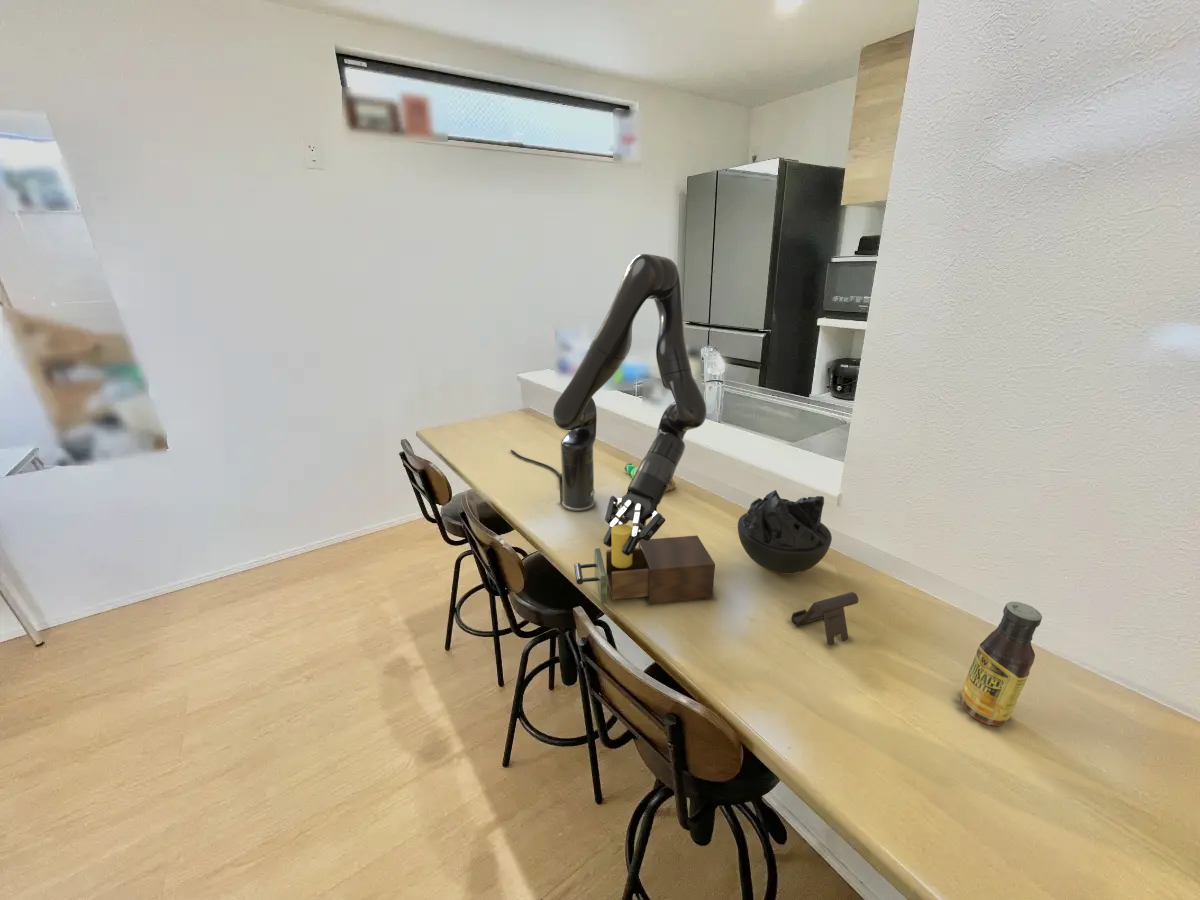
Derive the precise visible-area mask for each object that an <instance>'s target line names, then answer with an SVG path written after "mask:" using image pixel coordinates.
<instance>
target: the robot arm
mask: <svg viewBox="0 0 1200 900" xmlns="http://www.w3.org/2000/svg"><path fill="white" fill-rule="evenodd" d="M680 280H681V278H680V273H679V269H678V266H677V264H676V263H675V262H674V260H672V259H671V258H668V257H665V256H661V255H655V254H650V253H642V254H638V255H637V256H635V257H634V258H633V259H632V260H631V261H630V263H629V264H628V266H627V268H626V270H625V272H624V274H623V277H622V280H621V281H620V284H619V286H618V288H617V291H616V293H615V296H614V299H613V301H612V303H611V305H610V307H609V309H608V311H607V313H606V315H605V316H604V319H603V321H602V323H601V325H600V327H599V329H597V330H598V331H597V332H596V334H595V336H593V339H592V341H591V343H590V344H589V346H588V348H587V350H586V352H585V354H584V357H583V358H582V360H581V362H580V363H579V365H578V367H577V369H576V370H575V373H574V375H573V377H572V378H571V380H570V381H569V383H568V385H567V386H566V387H565V388H564V390H563V392H562V393H561V394H560V395H559V397H558V399H557V400H556V401H555V403H554V406H553V411H552V417H553V422H554V424H555V426H556V427H558V428H559V429H561V430H562V431H567V432H566V434H565V436H564V437H563V438H561V440H560V465H561V473H560V472H558V471H557V470H556V469H555V468H554V467H552V466H550V465H549V464H548V465H547V464H546V463H543V462H540V461H536V460H534V459H531V458H528V457H525V456H522V455H520V454H518V453H517V452H516V451H514V450H513V449H510V452H511V453H512V454H513V455H515V456H516V457H518V458H520V459H522V460H525V461H528V462H531V463H534V464H537V465H540V466H543V467H545V468H548V469H550V470H551V471H553V472H554V473H555V474H556V475H557V477H558V482H559V503H560V505H561V506H562V507H563V508H564V509H566V510H569V511H572V512H583V511H588V510H591V508H593V507H594V506H595V493H596V491H595V476H594V475H595V474H594V473H595V472H594V444H595V442H596V439H597V420H598V414H597V413H598V412H597V411H598V410H597V406H596V402H595V400H594V398H593V396H594V395H595V394H596V393H597V392H598V391H599V390H601V388H603V386H605V384H606V383H608V382H609V381H610V380H611V379H612V378H613V377H614V376H615V375H616V373H617V372H618V371H619V369H620V368H621V367H622V365H623V363H624V361H626V358H627V357H628V355H629V353H630V350H631V348H632V344H633V343H632V342H633V341H632V340H633V324H634V320H635V318H636V316H637V315H638V313H639V311H640V309H641V308H642V306H643V305H644V304H645V302H646V301H647V300H653V301H654V303H655V306H656V309H657V313H658V321H659V324H658V333H657V337H656V346H655V359H656V364H657V368H658V373H659V377H660V383H661V385H662V387H663V388H664V389H665V390H666V391H670V392H671V394H672V397H673V399H674V401H673V402H671V403H670V404H668V406H667V407H666V408H665V409H664V411H663V413H662V415H661V418H660V421H659V424H658V428H657V432H656V435H655V438H654V439H653V441H652V442H651V445H650V447H649V449H648V450H647V452H646V455H645V456H644V457H643V458H642V460H641V461H640V464H639V465H638V466H637V467H638V469H637V471H636V473H635V475H634V477H633V478H632V479H631V481H630V483H629V484H628V487H627V491H626V493H625V494H624V495H623V496H622V497H616V496H614V495H611V496H610V497H609V500H608V505H607V509H606V513H605V516H604V521H605V522H606V523H607V524H608V526H609V527H608V530H607V532H606V533H605V535H604V537H603V544H604V545H605V546H606V547H608V548H612V544H611V529H612V527H613V526H615V525H619V524H625V525H627V524H628V523H629V522H630V521H632V529H633V530H632V536H629V538H628V540H627V542H626V544H625V546H624V548H623V550H622V553H624V554H625V555H627V556H629V555H630V554H632V553H633V552H634V550H635V548H637V547H638V542H639V541H640V540H646V541H648V540H650V539H652V537H653V536H654V535H655V534H656V533H657V532H658V531H659V529H660V528H661V527H662V526H663V524H664V523H666V518H665V517H664V515H662V514H661V513H660V512H658V506H659V505H660V503H661V502H662V500H663V497H664V495H665V494H666V492H667V491H666V490H667V488H668V486H669V484H670V482H671V480H672V478H673V477H674V475H675V472H676V470H677V467H678V465H679V463H680V461H681V459H682V457H683V455H684V452H685V449H686V443H685V441H684V438H685V435H686V433H687V431H690V430H693V429H697V428H700V427H701V426H702V425H703V424H704V423H705V422H706V419H707V405H706V401H705V398H704V396H703V394H702V391H701V390H700V388H699V385H698V384H697V382H696V380H695V379H694V377H693V372H692V367H691V363H690V358H689V354H688V349H687V344H686V338H685V331H684V319H683V307H682V306H683V305H682V293H681V291H682V290H681V281H680ZM673 479H674V478H673ZM649 519H650V520H649ZM647 520H649V522H648V523H647Z"/></svg>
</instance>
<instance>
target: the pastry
mask: <svg viewBox="0 0 1200 900" xmlns="http://www.w3.org/2000/svg"><path fill="white" fill-rule="evenodd" d="M675 487H676V483H675V480H674V478H672V480H671V482H670V484H669V486H668V488H667V490H666V492H668V491H671V490H673V489H675Z"/></svg>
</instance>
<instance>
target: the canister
mask: <svg viewBox="0 0 1200 900" xmlns="http://www.w3.org/2000/svg"><path fill="white" fill-rule="evenodd" d="M632 530H633V526H631V525H629V524H619V525H615V526H613V527H612V529H611V544H612V546H611V550H612V565H613V566H615V567H617V568H627V567H630V566H631V565H632V554H630V555H629V556H627V555H625V554H624V553H622V550H623V548H624V546H625V544H626V542H627V540H628V538H629V536H632Z"/></svg>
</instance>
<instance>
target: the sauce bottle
mask: <svg viewBox="0 0 1200 900" xmlns="http://www.w3.org/2000/svg"><path fill="white" fill-rule="evenodd" d="M1002 612H1003V615H1002V618H1001V620H1000V623H999V624H998V626H997V627H996V628H995V629H994V630H993V631H992V632H991V633H989V634H988V636H986V637H985V639H983V640H982V642H980V643H979V646H978V648H977V650H976V653H975V656H974V658H973V661H972V663H971V665H970V668H969V671H968V673H967V676H966V679H965V682H964V683H963V686H962V689H961V695H960V704H961V707H962V709H963V710H964V711H965V712H966V713H968V714H969V716H971V717H972V718H974V719H975V720H977V721H978V722H980V723H982V724H984V725H990V726H993V727H995V726H996V727H999V726H1002V725H1004V724H1005V723H1006V722H1007V721H1008V720H1009V719H1010V718H1011V715H1012V713H1013V711H1014V709H1015V707H1016V704H1017V702H1018V700H1019V698H1020V696H1021V693H1022V691H1023V689H1024V686H1025V684H1026V682H1027V680H1028V677H1029V676H1030V671H1031V668H1032V666H1033V664H1034V662H1035V659H1036V654H1035V651H1034V649H1033V645H1032V640H1033V638H1034V637H1033V636H1034V634H1035V632H1036V629H1037V628H1038V627H1039V626H1040V625H1041V622H1042V620H1043V616H1042V613H1040V611H1038V609H1036V608H1035V607H1033V606H1032V605H1029V604H1027V603H1023V602H1021V601H1009V602H1007V603H1006V604H1005V606H1004V608H1003V610H1002Z"/></svg>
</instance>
